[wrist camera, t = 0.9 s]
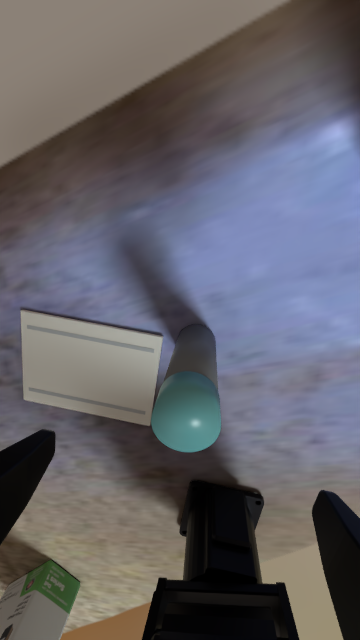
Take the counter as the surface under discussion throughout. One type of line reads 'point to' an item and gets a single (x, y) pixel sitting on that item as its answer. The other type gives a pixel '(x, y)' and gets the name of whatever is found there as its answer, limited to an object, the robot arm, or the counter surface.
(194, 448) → the marker
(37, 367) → the paper
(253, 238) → the counter surface
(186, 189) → the counter surface
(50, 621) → the ink box
